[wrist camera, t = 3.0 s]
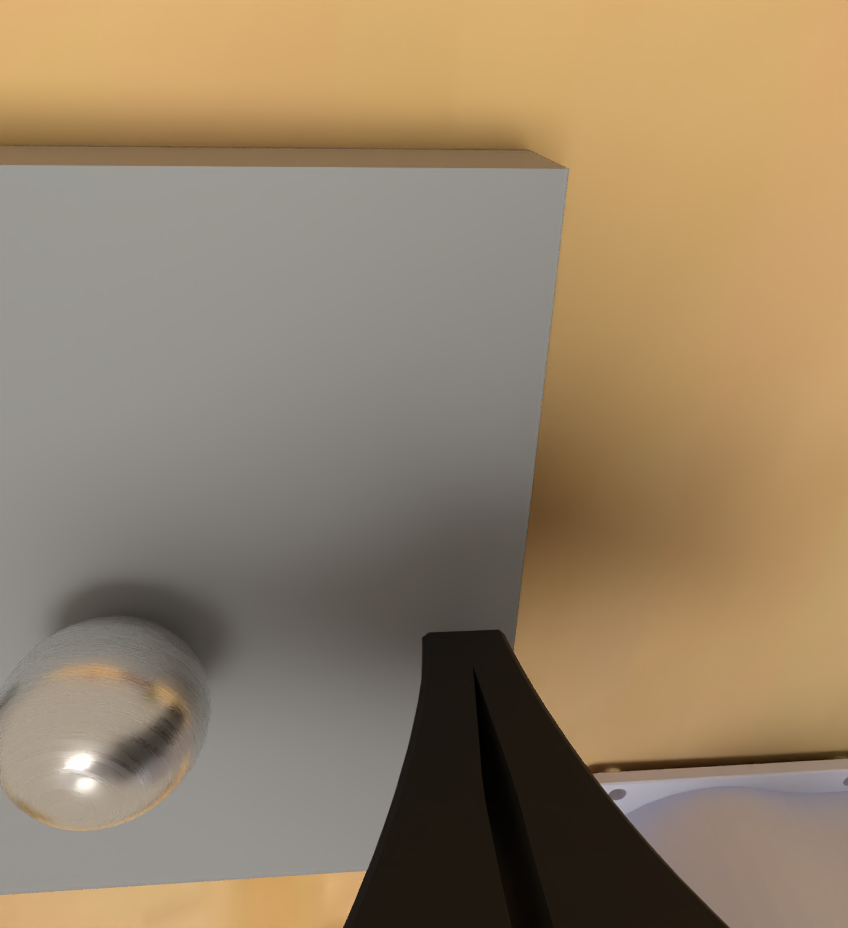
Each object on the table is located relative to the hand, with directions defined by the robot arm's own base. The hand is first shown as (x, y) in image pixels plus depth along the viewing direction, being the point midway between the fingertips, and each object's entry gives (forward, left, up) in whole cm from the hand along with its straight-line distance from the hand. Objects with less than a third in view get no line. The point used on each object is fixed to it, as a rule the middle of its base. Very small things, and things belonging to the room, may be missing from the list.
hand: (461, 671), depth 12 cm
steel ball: (+6, 0, +1) cm, 6 cm away
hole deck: (+9, 0, -3) cm, 9 cm away
